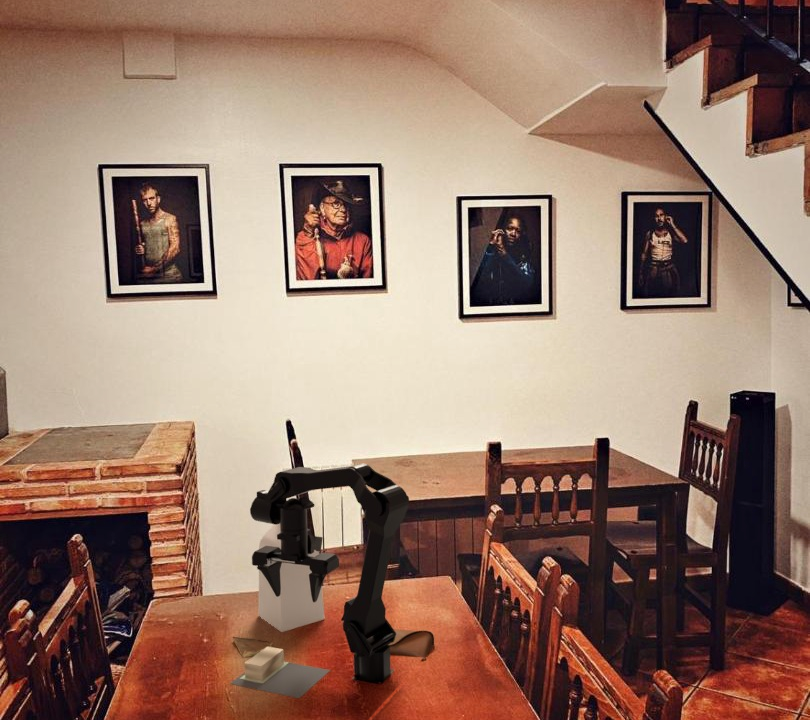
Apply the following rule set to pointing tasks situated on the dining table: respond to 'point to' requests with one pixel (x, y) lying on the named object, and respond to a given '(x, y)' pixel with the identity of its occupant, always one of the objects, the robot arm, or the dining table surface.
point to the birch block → (264, 663)
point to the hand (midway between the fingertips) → (296, 598)
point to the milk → (288, 592)
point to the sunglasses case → (412, 643)
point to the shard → (250, 646)
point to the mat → (285, 680)
